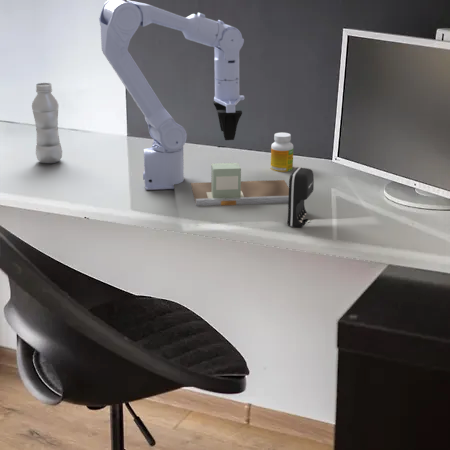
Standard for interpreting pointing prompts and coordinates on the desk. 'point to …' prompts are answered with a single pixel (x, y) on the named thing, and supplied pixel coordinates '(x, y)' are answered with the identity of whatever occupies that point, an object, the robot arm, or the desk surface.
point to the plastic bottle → (46, 124)
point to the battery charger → (299, 195)
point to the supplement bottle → (282, 153)
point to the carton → (225, 180)
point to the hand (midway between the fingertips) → (227, 135)
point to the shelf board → (244, 193)
